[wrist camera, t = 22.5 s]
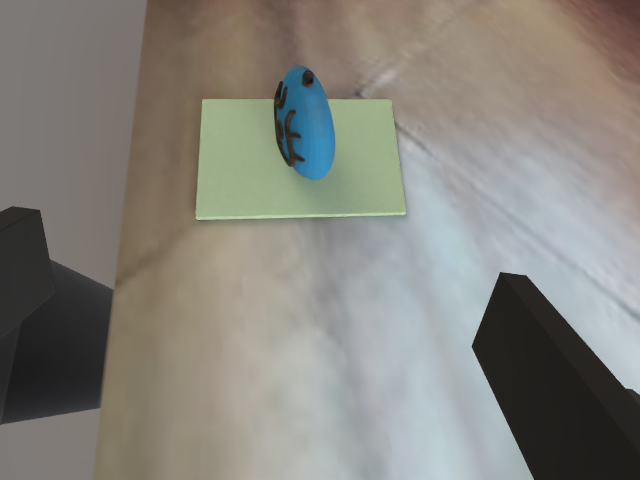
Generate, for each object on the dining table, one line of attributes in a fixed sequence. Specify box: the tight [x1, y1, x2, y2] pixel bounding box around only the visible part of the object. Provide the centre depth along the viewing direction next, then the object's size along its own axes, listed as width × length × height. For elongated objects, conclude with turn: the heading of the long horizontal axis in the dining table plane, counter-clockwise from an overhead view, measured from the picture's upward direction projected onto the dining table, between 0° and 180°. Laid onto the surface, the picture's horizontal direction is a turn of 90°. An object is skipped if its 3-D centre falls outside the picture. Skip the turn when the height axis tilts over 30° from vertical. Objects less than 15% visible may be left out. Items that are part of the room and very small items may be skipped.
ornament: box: [274, 65, 335, 180], centre depth 30 cm, size 8×5×10 cm, turn 17°
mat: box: [195, 99, 406, 220], centre depth 35 cm, size 18×12×1 cm, turn 93°
